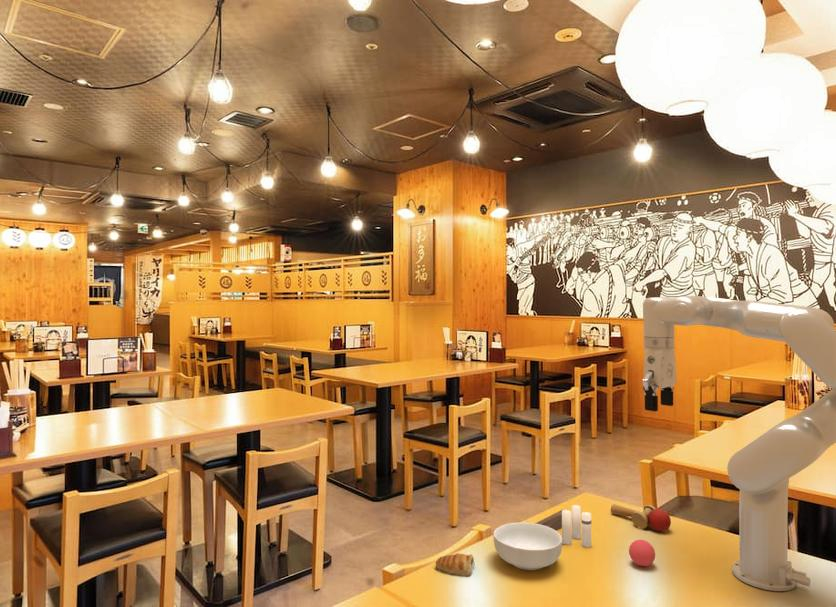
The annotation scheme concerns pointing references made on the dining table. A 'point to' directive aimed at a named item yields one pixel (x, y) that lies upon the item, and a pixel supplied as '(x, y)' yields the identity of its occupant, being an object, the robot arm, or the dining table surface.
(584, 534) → the front pin
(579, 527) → the pin
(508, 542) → the cereal bowl
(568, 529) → the pin
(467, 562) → the pastry
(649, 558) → the ball
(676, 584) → the dining table surface
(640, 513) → the kendama
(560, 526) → the wall
